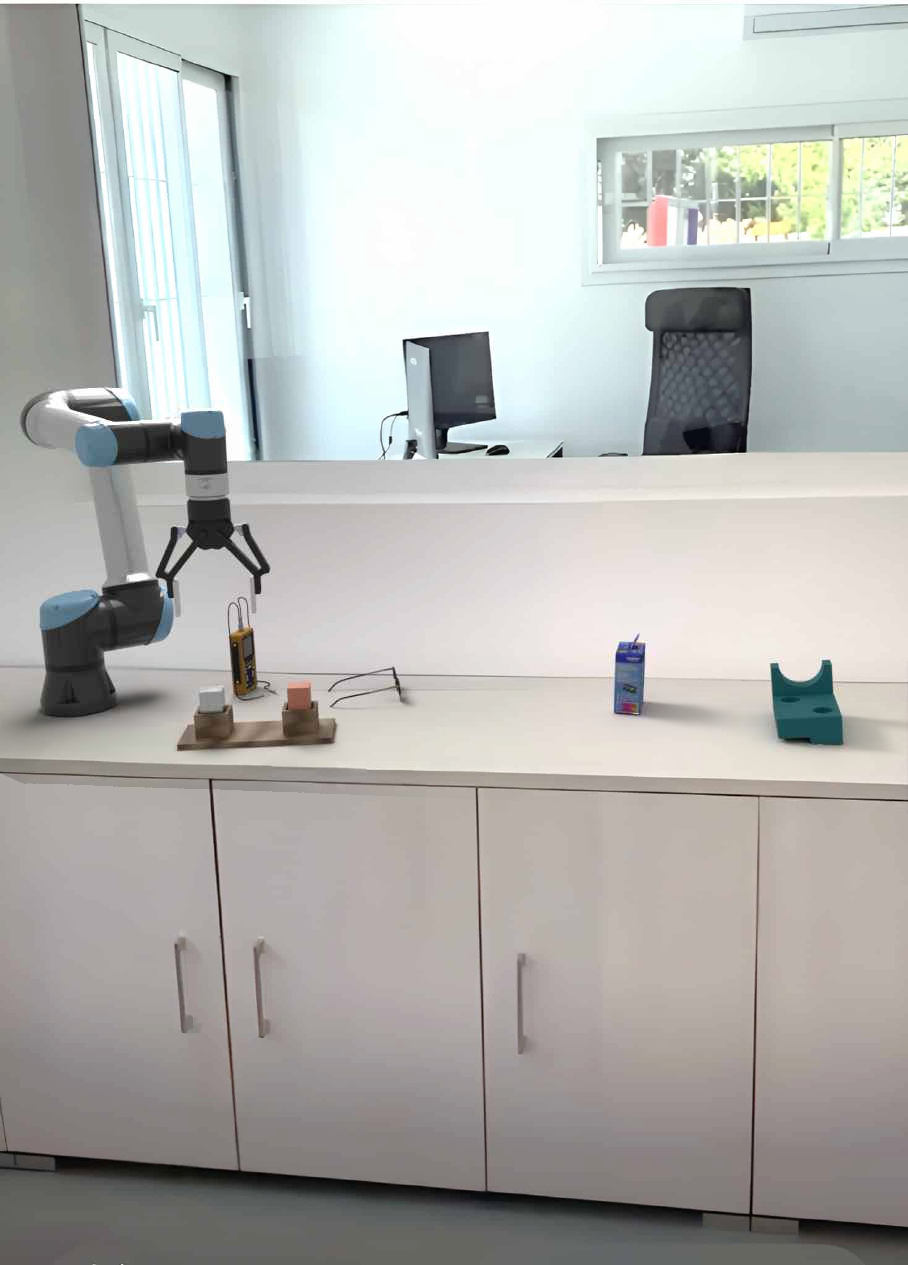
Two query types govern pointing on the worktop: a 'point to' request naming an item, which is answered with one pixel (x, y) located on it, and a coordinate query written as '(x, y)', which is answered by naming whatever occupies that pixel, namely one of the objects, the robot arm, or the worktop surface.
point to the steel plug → (212, 699)
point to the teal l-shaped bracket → (807, 707)
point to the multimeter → (243, 658)
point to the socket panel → (257, 730)
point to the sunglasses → (372, 691)
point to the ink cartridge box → (629, 677)
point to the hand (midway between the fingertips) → (216, 613)
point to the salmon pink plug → (299, 696)
